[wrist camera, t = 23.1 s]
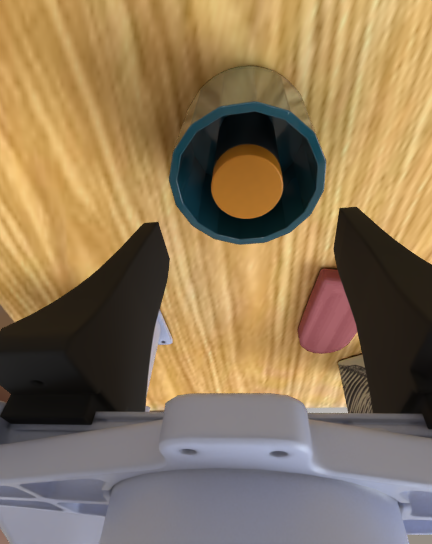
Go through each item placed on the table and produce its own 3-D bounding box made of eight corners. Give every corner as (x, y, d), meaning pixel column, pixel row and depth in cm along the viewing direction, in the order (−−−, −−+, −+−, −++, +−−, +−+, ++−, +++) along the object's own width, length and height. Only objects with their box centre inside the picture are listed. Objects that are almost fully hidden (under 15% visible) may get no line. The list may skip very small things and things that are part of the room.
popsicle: (416, 246, 23) (343, 356, 34) (408, 232, 24) (340, 343, 35) (341, 239, 23) (292, 352, 34) (337, 225, 24) (290, 339, 35)
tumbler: (198, 194, 23) (188, 249, 19) (172, 77, 18) (150, 116, 14) (305, 182, 22) (320, 238, 18) (310, 54, 17) (332, 89, 13)
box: (380, 347, 35) (429, 488, 26) (395, 364, 37) (445, 500, 28) (334, 361, 37) (363, 494, 28) (350, 377, 40) (382, 505, 31)
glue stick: (234, 173, 21) (232, 228, 17) (207, 126, 19) (197, 176, 15) (283, 148, 20) (294, 202, 16) (260, 95, 18) (264, 141, 14)
